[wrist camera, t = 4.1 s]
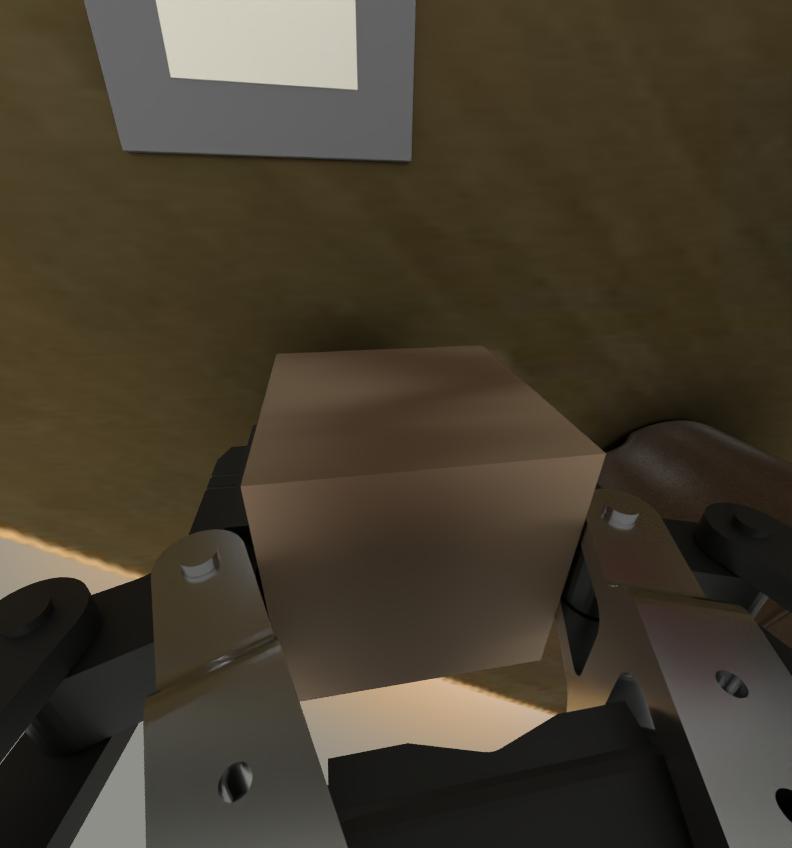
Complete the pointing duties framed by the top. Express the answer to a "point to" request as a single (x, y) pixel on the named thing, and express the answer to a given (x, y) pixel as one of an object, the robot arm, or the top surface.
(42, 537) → the top surface
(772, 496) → the plant pot
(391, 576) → the walnut block
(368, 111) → the mat
